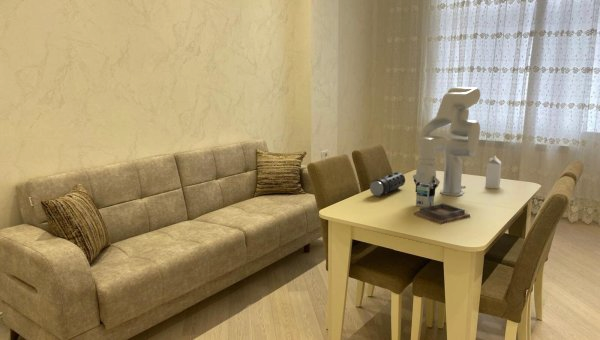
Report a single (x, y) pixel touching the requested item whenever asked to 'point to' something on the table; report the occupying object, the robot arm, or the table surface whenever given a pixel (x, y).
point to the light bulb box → (424, 196)
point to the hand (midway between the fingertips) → (424, 194)
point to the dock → (441, 213)
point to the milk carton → (493, 173)
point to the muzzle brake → (387, 184)
